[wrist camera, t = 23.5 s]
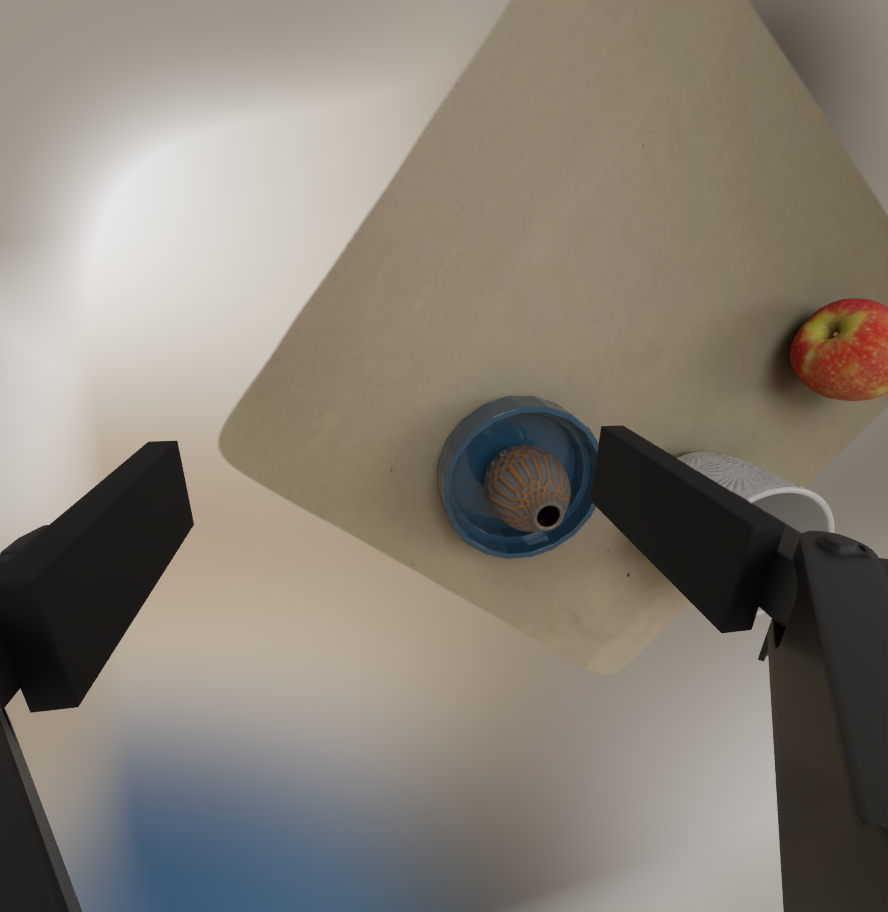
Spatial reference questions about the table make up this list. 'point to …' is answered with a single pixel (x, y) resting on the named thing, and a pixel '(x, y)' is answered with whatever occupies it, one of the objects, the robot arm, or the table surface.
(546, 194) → the table surface
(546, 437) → the bowl
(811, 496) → the planter
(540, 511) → the vase
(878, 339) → the apple
